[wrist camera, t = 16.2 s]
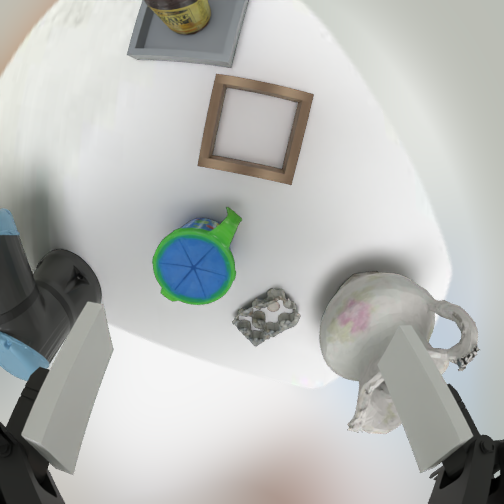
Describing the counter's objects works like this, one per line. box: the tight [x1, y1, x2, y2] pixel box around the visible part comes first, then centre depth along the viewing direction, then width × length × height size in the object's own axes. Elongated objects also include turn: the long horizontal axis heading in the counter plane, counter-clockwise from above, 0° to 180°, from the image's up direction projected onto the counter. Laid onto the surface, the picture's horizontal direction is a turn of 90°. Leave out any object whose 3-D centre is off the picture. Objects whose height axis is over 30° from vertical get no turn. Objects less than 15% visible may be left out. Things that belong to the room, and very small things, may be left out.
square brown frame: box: [198, 74, 314, 185], centre depth 36 cm, size 12×12×4 cm
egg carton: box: [232, 288, 301, 346], centre depth 49 cm, size 10×7×4 cm
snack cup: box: [152, 207, 242, 305], centre depth 41 cm, size 16×10×10 cm
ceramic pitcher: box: [319, 271, 479, 434], centre depth 39 cm, size 22×20×25 cm
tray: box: [127, 0, 249, 68], centre depth 29 cm, size 14×14×4 cm
